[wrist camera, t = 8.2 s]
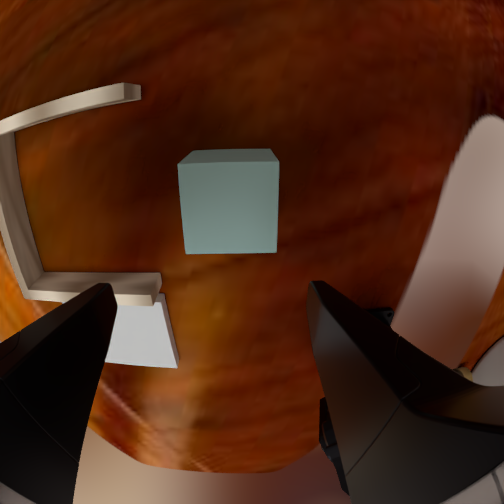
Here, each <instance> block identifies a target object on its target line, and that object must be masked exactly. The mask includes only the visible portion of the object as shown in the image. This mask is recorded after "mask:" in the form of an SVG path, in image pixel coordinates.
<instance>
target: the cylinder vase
mask: <svg viewBox="0 0 504 504" xmlns="http://www.w3.org/2000/svg"><path fill="white" fill-rule="evenodd" d="M471 374H472V377H473V382H474V383H477V384H480V385H484V386H504V337H503V338H501V339H500V340H499V341H498V342H496V343H495V344H494V345H493V346H492V347H491V348H490V349H489V350H488V351H487V352H486V353H485V354H484V356H483V357H482V358H481V359H480V360H479V362H478V363H477V364H476V366H475V368H474V369H473V371H472V373H471Z"/></svg>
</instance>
